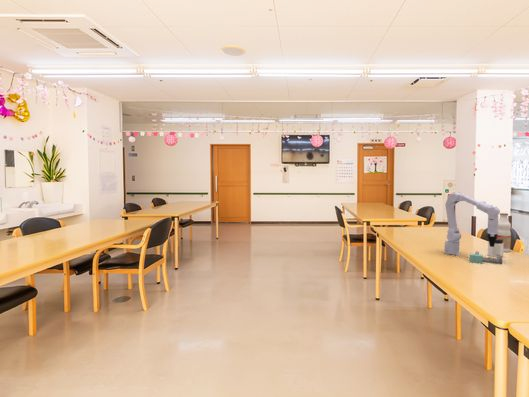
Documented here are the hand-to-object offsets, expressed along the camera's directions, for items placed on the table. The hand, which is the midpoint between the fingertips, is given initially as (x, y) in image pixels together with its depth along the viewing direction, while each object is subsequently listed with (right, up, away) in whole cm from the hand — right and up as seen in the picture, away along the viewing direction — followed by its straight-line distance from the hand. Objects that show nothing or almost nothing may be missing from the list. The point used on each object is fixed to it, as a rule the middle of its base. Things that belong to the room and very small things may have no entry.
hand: (491, 245), depth 229 cm
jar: (+10, -9, +12) cm, 18 cm away
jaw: (-9, -8, +2) cm, 12 cm away
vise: (-5, -10, -1) cm, 11 cm away
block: (-13, -10, -4) cm, 17 cm away
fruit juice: (+26, -8, +27) cm, 38 cm away
